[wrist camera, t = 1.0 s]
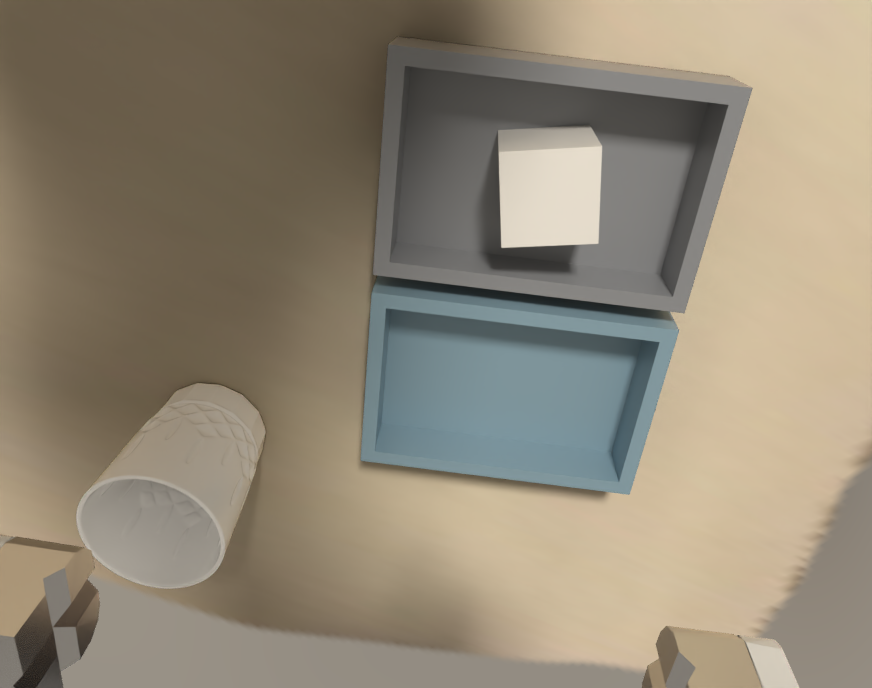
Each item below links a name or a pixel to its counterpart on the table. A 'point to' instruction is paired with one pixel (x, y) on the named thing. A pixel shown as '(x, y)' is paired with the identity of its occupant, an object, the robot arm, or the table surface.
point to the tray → (537, 108)
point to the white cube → (549, 186)
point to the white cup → (175, 489)
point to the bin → (512, 383)
